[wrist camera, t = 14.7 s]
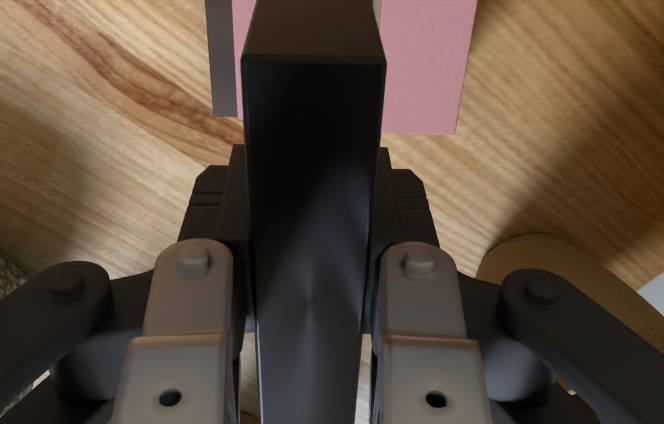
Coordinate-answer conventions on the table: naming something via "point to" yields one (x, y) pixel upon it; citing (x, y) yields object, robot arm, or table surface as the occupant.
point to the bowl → (4, 279)
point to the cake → (240, 40)
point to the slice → (424, 62)
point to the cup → (248, 419)
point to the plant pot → (575, 283)
